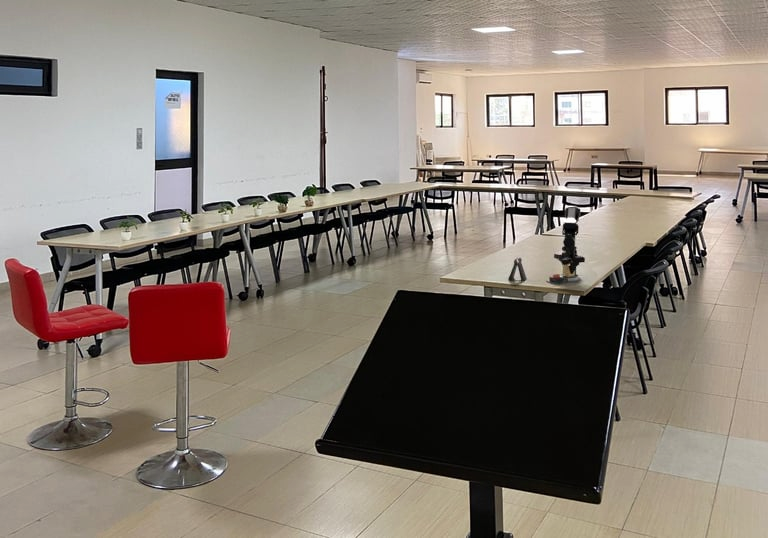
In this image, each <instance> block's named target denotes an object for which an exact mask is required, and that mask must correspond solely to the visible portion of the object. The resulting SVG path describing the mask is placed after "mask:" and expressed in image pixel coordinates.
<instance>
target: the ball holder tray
mask: <svg viewBox="0 0 768 538" xmlns="http://www.w3.org/2000/svg"><path fill="white" fill-rule="evenodd" d="M579 278H580V277H579V276H570V277H567V276H563V275H560V278H553V275H552V276H549V279H548V280H546V282H547V283H550V284H554V285H559V283H561V284H568V283H574V282H579V281H580V279H579Z"/></svg>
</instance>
